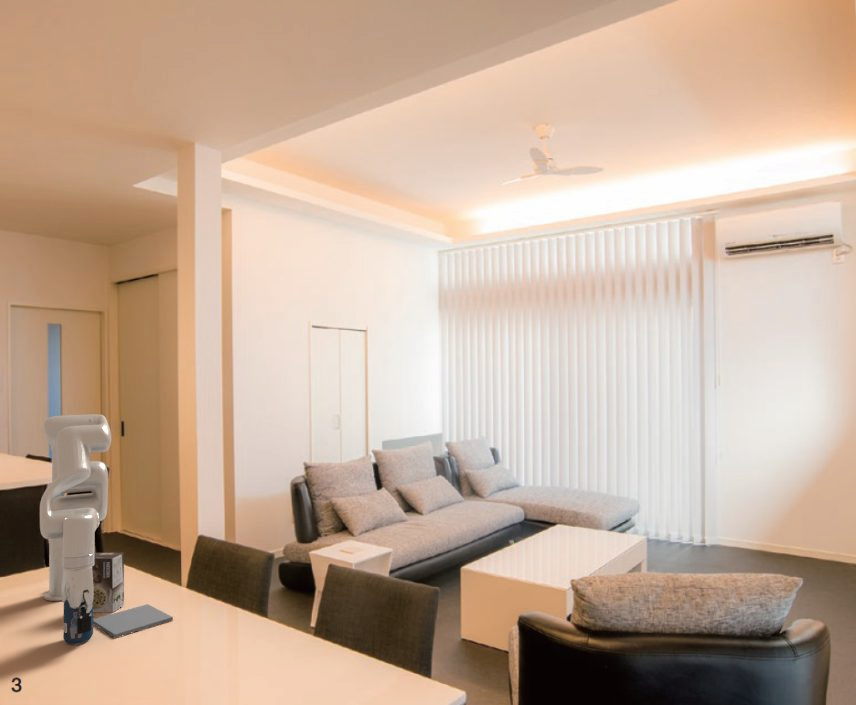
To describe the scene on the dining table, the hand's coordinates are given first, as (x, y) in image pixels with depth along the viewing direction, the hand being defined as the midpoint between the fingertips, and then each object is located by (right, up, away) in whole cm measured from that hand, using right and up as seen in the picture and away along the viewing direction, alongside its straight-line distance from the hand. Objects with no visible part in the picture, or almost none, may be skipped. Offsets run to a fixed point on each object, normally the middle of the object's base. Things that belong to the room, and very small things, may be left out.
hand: (78, 628), depth 171 cm
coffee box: (-5, -4, +23) cm, 24 cm away
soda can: (0, -3, 0) cm, 3 cm away
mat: (+9, -4, +12) cm, 15 cm away
